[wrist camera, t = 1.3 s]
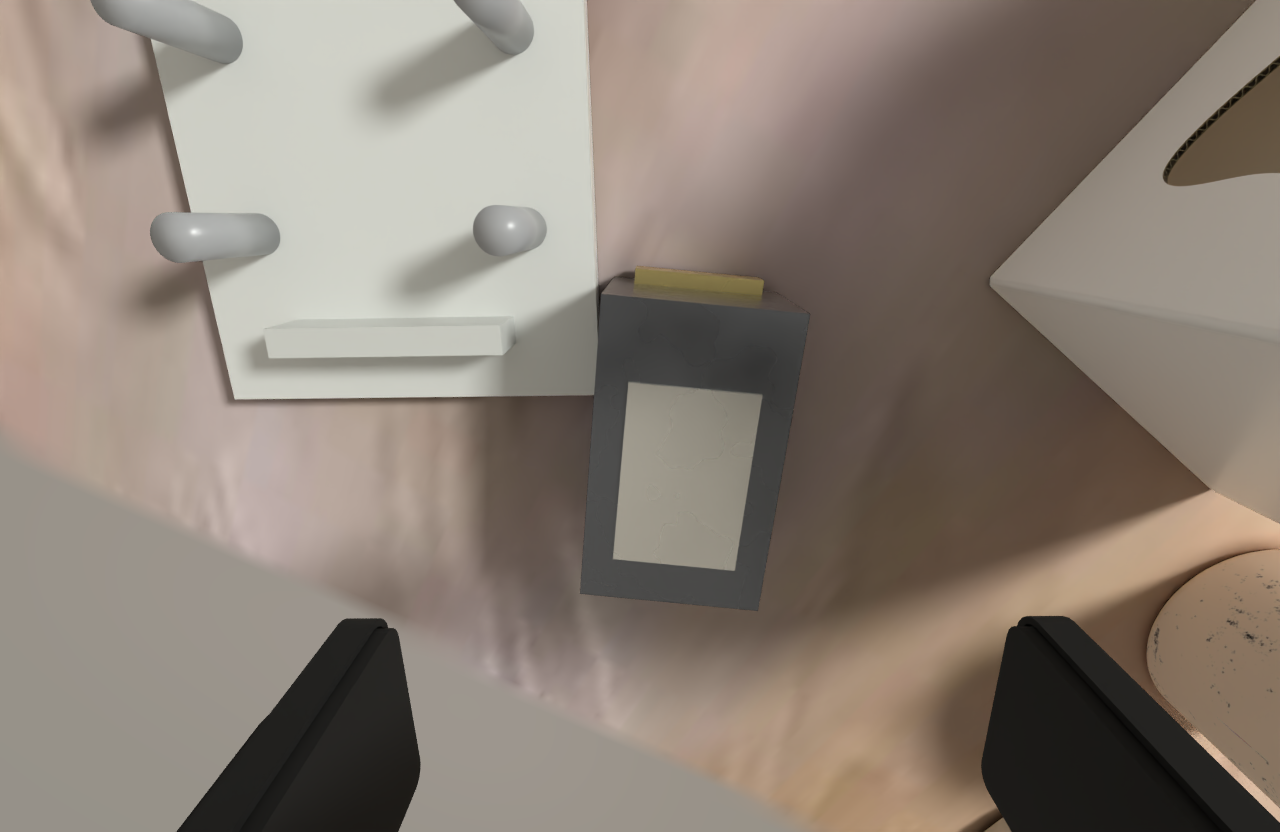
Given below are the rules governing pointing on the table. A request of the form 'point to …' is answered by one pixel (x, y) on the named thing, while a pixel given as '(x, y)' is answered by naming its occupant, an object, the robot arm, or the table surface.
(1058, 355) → the table surface
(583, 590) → the drive
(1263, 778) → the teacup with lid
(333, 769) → the robot arm
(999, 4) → the table surface
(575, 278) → the peg fixture base
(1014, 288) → the gable box
